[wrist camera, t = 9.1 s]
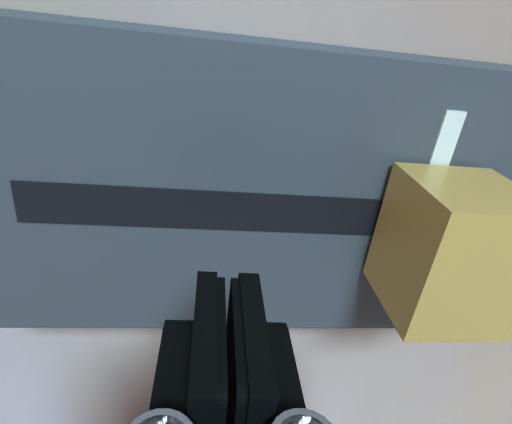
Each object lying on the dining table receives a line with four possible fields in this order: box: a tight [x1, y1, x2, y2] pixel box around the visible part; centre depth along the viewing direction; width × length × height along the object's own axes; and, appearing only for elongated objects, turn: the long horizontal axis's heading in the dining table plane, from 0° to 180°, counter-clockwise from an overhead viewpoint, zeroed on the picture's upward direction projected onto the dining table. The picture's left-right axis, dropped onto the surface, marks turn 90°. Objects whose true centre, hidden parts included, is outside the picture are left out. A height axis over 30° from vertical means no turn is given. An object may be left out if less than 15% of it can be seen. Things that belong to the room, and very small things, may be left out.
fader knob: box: [363, 162, 512, 342], centre depth 15 cm, size 4×5×4 cm
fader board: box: [0, 8, 512, 328], centre depth 17 cm, size 22×12×3 cm, turn 84°
